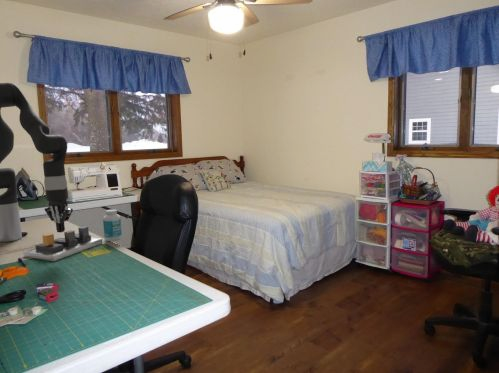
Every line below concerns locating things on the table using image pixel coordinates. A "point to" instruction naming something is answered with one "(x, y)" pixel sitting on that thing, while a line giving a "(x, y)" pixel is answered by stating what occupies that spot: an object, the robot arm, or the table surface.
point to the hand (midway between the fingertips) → (60, 231)
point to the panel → (56, 257)
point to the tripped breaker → (48, 239)
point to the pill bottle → (112, 226)
